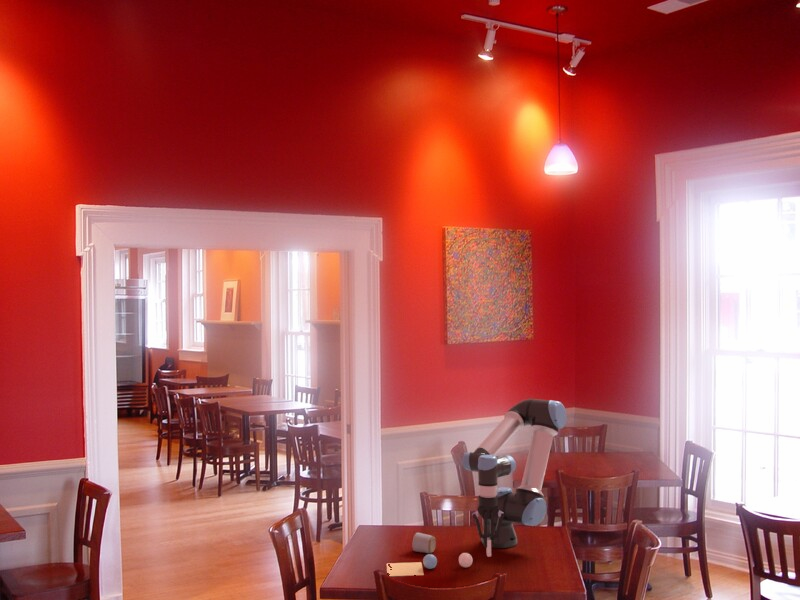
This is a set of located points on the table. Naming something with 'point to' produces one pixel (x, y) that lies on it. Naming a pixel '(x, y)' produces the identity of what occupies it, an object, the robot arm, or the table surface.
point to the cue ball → (465, 560)
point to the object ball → (430, 561)
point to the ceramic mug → (423, 543)
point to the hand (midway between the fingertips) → (488, 555)
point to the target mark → (405, 569)
